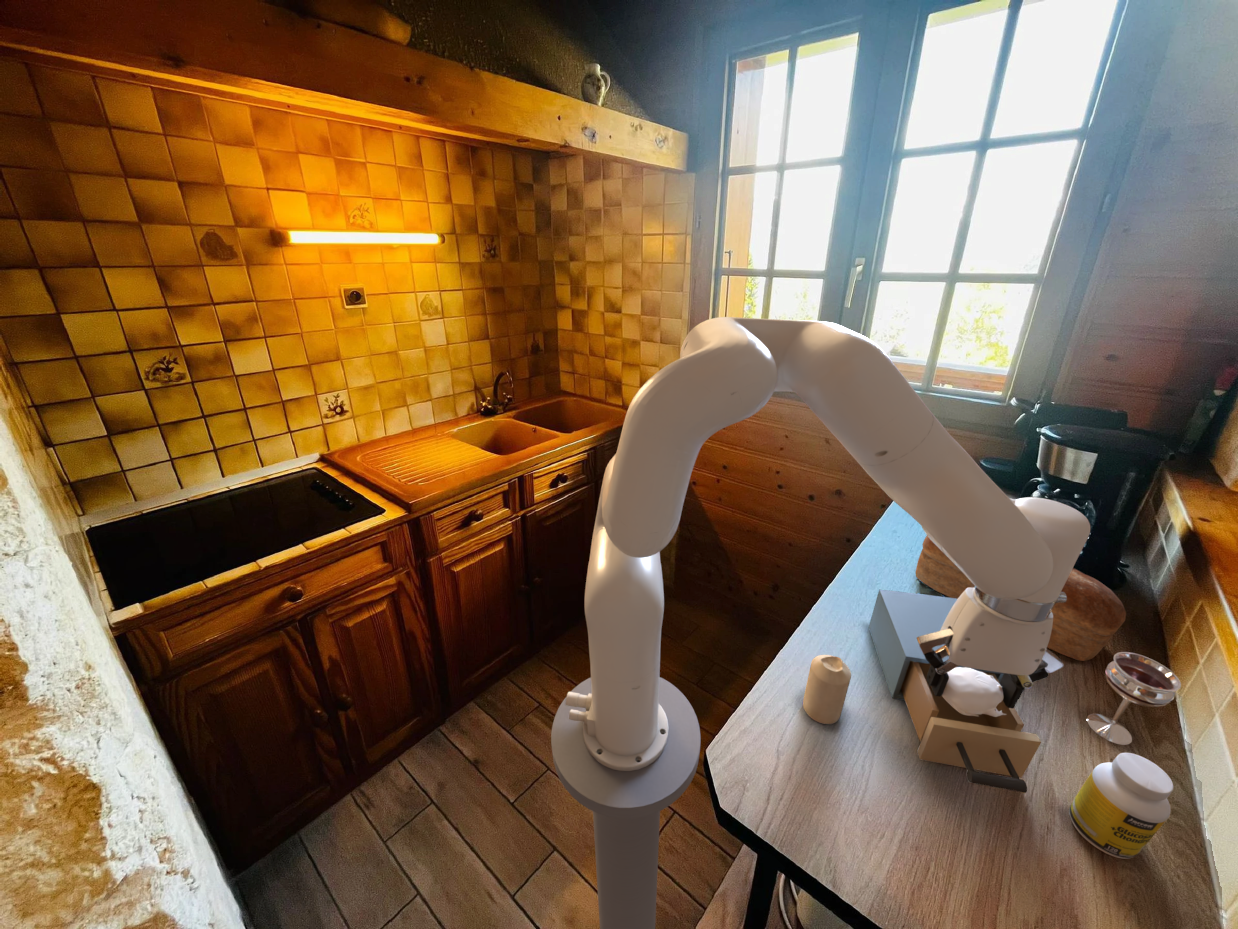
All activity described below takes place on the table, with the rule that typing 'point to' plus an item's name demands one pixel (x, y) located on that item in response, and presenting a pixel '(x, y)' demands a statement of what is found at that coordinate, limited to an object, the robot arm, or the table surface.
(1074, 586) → the bread
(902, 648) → the cabinet
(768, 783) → the table surface
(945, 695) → the garlic
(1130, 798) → the pill bottle
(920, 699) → the drawer
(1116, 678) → the wineglass
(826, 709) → the candle
